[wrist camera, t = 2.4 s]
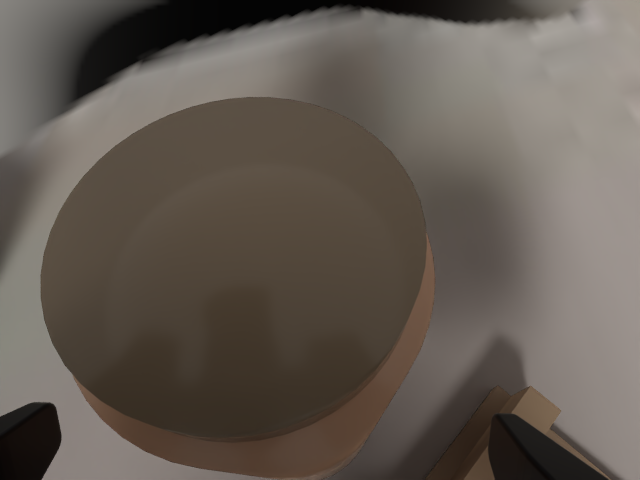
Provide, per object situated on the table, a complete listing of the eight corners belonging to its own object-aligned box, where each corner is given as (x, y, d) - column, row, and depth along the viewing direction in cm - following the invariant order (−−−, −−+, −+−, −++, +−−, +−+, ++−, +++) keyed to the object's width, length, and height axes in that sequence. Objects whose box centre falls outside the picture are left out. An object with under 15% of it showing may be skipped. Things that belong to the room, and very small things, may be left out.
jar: (303, 518, 16) (191, 623, 4) (211, 406, 18) (-56, 234, 6) (399, 404, 18) (538, 219, 5) (306, 315, 20) (256, 41, 8)
